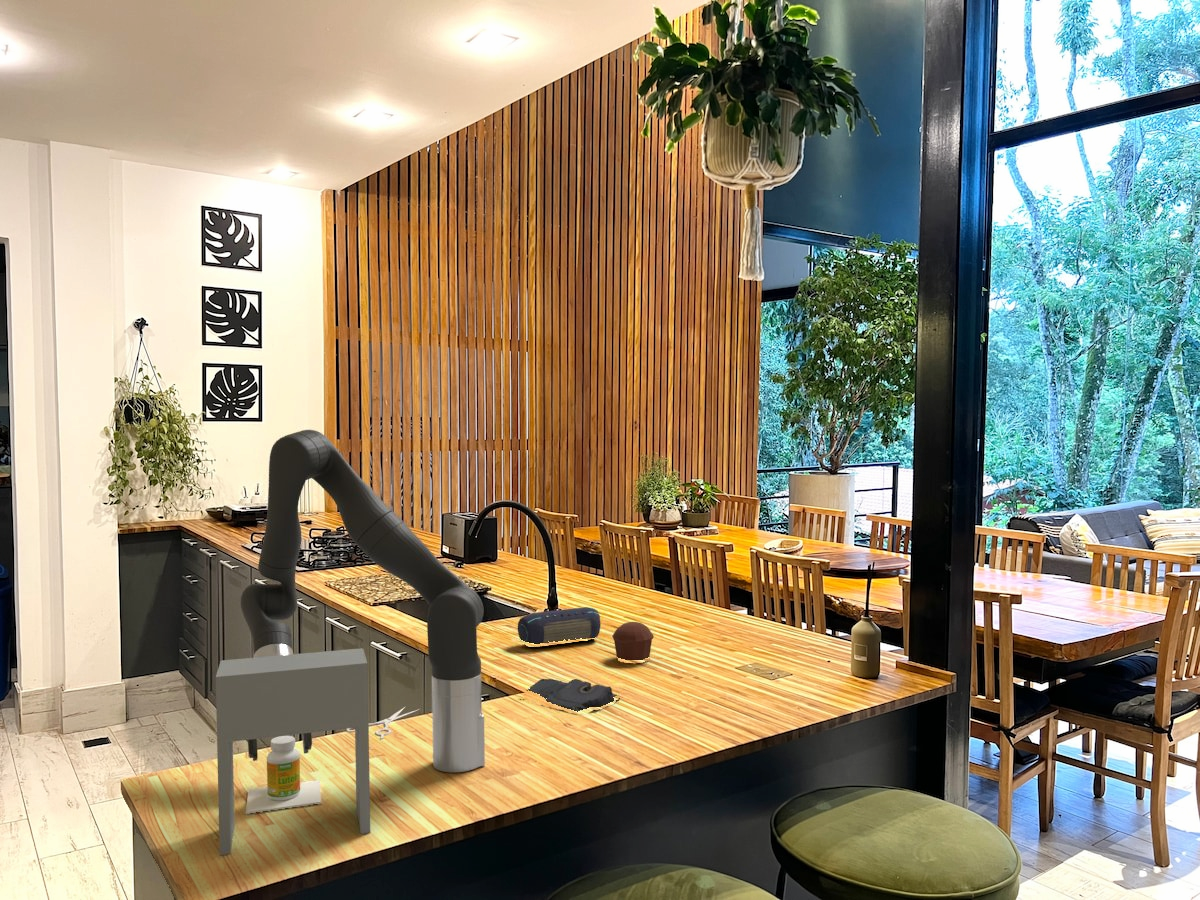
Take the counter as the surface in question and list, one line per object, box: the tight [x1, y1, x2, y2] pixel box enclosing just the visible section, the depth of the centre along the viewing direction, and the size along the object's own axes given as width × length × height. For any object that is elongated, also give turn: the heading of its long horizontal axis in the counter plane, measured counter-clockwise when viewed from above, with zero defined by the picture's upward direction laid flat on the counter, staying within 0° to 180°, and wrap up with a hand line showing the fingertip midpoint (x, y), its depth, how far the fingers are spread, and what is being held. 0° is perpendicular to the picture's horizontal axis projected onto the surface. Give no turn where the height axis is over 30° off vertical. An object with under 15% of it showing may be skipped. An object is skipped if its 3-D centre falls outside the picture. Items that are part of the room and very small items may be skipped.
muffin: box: [611, 621, 655, 660], centre depth 245 cm, size 12×11×10 cm
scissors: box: [346, 706, 421, 740], centre depth 196 cm, size 11×1×20 cm
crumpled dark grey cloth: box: [526, 678, 618, 712], centre depth 210 cm, size 15×22×5 cm
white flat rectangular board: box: [245, 779, 322, 815], centre depth 156 cm, size 12×10×1 cm
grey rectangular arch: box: [215, 647, 371, 856], centre depth 144 cm, size 22×11×27 cm, turn 109°
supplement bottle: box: [266, 735, 301, 801], centre depth 156 cm, size 5×5×10 cm
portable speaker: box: [517, 606, 602, 644], centre depth 264 cm, size 25×10×10 cm, turn 117°
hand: (281, 755), depth 159 cm, fingers open, 8 cm apart
